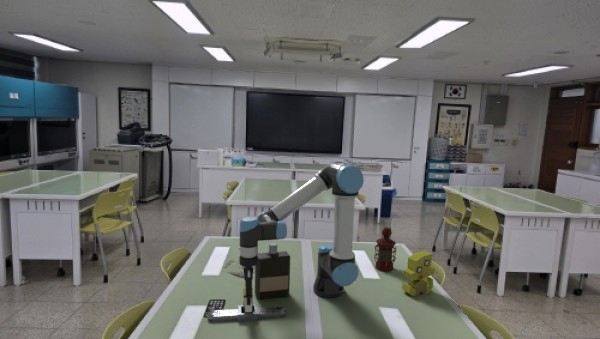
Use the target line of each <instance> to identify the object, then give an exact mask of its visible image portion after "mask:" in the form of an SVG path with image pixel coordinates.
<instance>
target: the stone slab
mask: <svg viewBox="0 0 600 339" xmlns="http://www.w3.org/2000/svg"><path fill="white" fill-rule="evenodd" d="M233 263H236V265H235V266H236V267H237V266H238V269H240V270H244V266H241V265H240V264H239V259H238V260H234V259H233V258H232V259H230V260H229V261H228V262H227V263H226V265H225V266H224V267H223V268H224V269H225V268H228V267H229V266H230V265H232V264H233ZM230 267H231V266H230ZM252 267H253V271H254V272H253V274H255V266H252ZM227 273H228V274H232V275H235V276H237V277H238V276H239V277H244V272H242V271H239V272H238V271H236V272H233V271H231V272H230V271H229V272H227Z"/></svg>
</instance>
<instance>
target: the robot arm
mask: <svg viewBox="0 0 600 339" xmlns="http://www.w3.org/2000/svg"><path fill="white" fill-rule="evenodd" d="M364 179H365V177H364V175H363V172H362V171H361V169H360V168H359V167H357V166H355V165H353V164H351V163H347V162H344V161H334V162H330V163H328V164H327V165H325V166H324V167H322V168H321V169H320V170H318V171H317V172H316V173H315V174H314V175H313V178H311V179H310V180H308V181H307V182H305V183H304V184H303V185H302V186H300V187H299V188H297V189H295V191H294V192H292V193H291V194H289V195H288V196H287V197H286V198H284V199H283V200H281V201H279V203H277V204H276V205H275V206H273V207H272V208H270V209H269V210H267V211H262V212H259V213H258V214H257V216H256V217H252V216H251V217H250V216H246V217H243V218H241V219H240V221H239V247H237V249H238V250H239V258H238V260H239V262H238V263H239V264H238V265H240V267H241V266H244V269H243V273H244V276H243V278H244V279H243V280H244V287H243V289H244V288H246V295H245V296H244V298H245V312H252V288H253V278H254V276H253V275H254V273H253V271H254V269H253V267H252V266H255V265H257V263H258V256H257V254H258V253H259V242H261V241H278V240H283V239H286V237H287V235H288V227H287V224H286V222H285V221H284V220H286V219H287V218H288V217H289V216H291V215H292V214H294V213H295V212H296V211H298V210H299V209H301V207H303V206H305V205H306V204H308V202H310V201H311V200H313V199H314V198H316V197H317V196H318V195H320V194H321V193H322V192H324V191H325V192H327V191H329V190H330V189H331V195H332V196H333V197H334V213H333V214H334V216H333V217H334V218H333V236H332V237H333V239H332V240H333V241H332V244H331V243H328V244H322V245H320V246H318V251H317V272H316V273H317V274H316V278H315V280H314V283H313V287H312V289H313V290H312V291H313V292H314V294H316V295H317V296H320V297H323V298H327V299H328V298H329V299H332V298H339V297H341V296H342V295H344V294H345V293H344V292H345V287H348V286H351V285H352V284H354V282H356V281H357V279H358V276H359V269H358V266H357V265H356V264H355V263H356V253H355V252H354V251H353V242H354V241H353V238H354V221H355V220H354V218H355V202H356V201H355V200H356V198H357V197H359V191H360V190H361V189H362V187H363V184H364V181H365V180H364Z"/></svg>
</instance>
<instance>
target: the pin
mask: <svg viewBox="0 0 600 339" xmlns="http://www.w3.org/2000/svg"><path fill="white" fill-rule="evenodd" d="M245 295H246V288H244V287H243V289H242V305H243V313H252V312H253V304H254V303H253V302H254V300H253V299H254V297H253V296H254V288H253V287H252V312H245V298H244V296H245Z"/></svg>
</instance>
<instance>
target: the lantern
mask: <svg viewBox="0 0 600 339" xmlns="http://www.w3.org/2000/svg"><path fill="white" fill-rule="evenodd" d="M387 219H390V221H389V224H391V223H392V217H391V216H390V217H389V216H388V217H385V218H384V219H383V221H382V223H383V225H385V222H384V221H385V220H387ZM380 232H381V238H378V239H376V241H375V242H376V245H375V246H374V257H373V258H374V261H375V265H374V268H375V269H376V270H377V271H378V272H379V271H380V272H384V273H390V272H393V271H394V269H395V268H394V263H395V261H396V260H397V257H396V253H397V247H396V244H397V243H396V241H395V240H393V239H391V237H392V235H393V232H392V227H391V226H389V227H388V226H383V229H381V231H380Z"/></svg>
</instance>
